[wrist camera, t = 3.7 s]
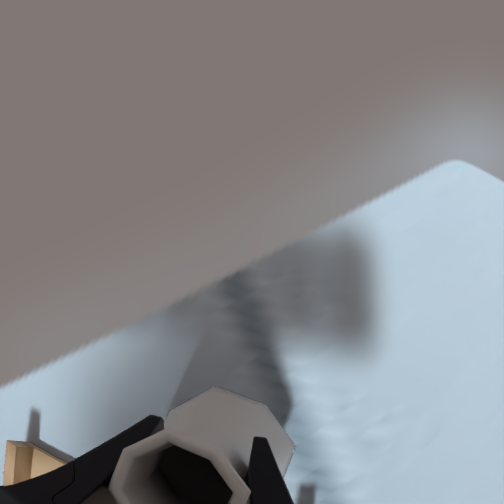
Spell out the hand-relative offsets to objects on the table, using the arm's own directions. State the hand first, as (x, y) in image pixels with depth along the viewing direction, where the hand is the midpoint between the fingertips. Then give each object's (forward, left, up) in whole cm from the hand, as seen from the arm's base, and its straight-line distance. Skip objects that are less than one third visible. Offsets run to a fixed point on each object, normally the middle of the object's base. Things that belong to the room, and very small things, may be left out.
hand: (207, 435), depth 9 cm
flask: (-1, +1, -7) cm, 7 cm away
